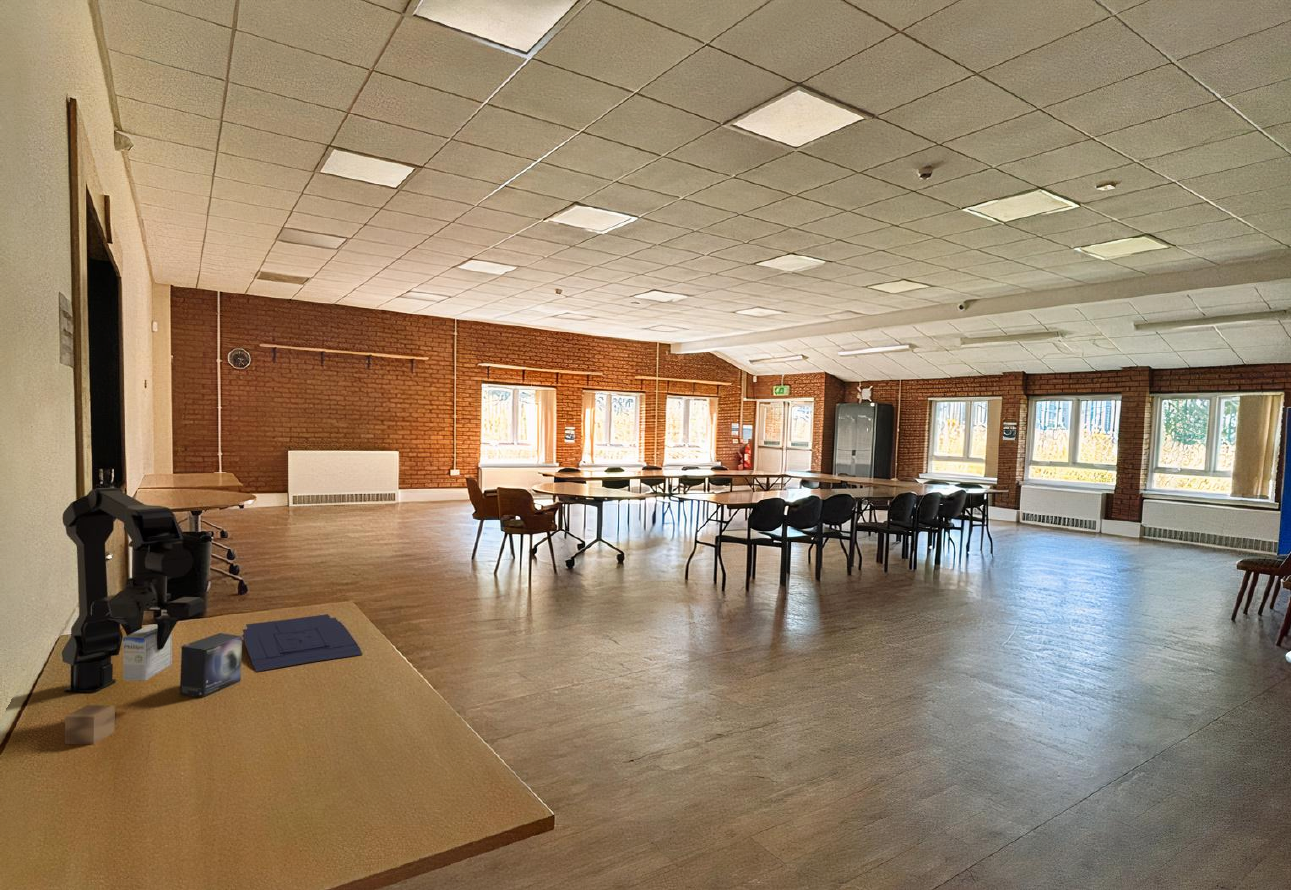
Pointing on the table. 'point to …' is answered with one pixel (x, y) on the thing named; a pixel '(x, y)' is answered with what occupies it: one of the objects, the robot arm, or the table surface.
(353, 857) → the table surface
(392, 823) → the table surface
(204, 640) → the small box
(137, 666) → the medicine box
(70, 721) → the light brown cube
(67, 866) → the table surface
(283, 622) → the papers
